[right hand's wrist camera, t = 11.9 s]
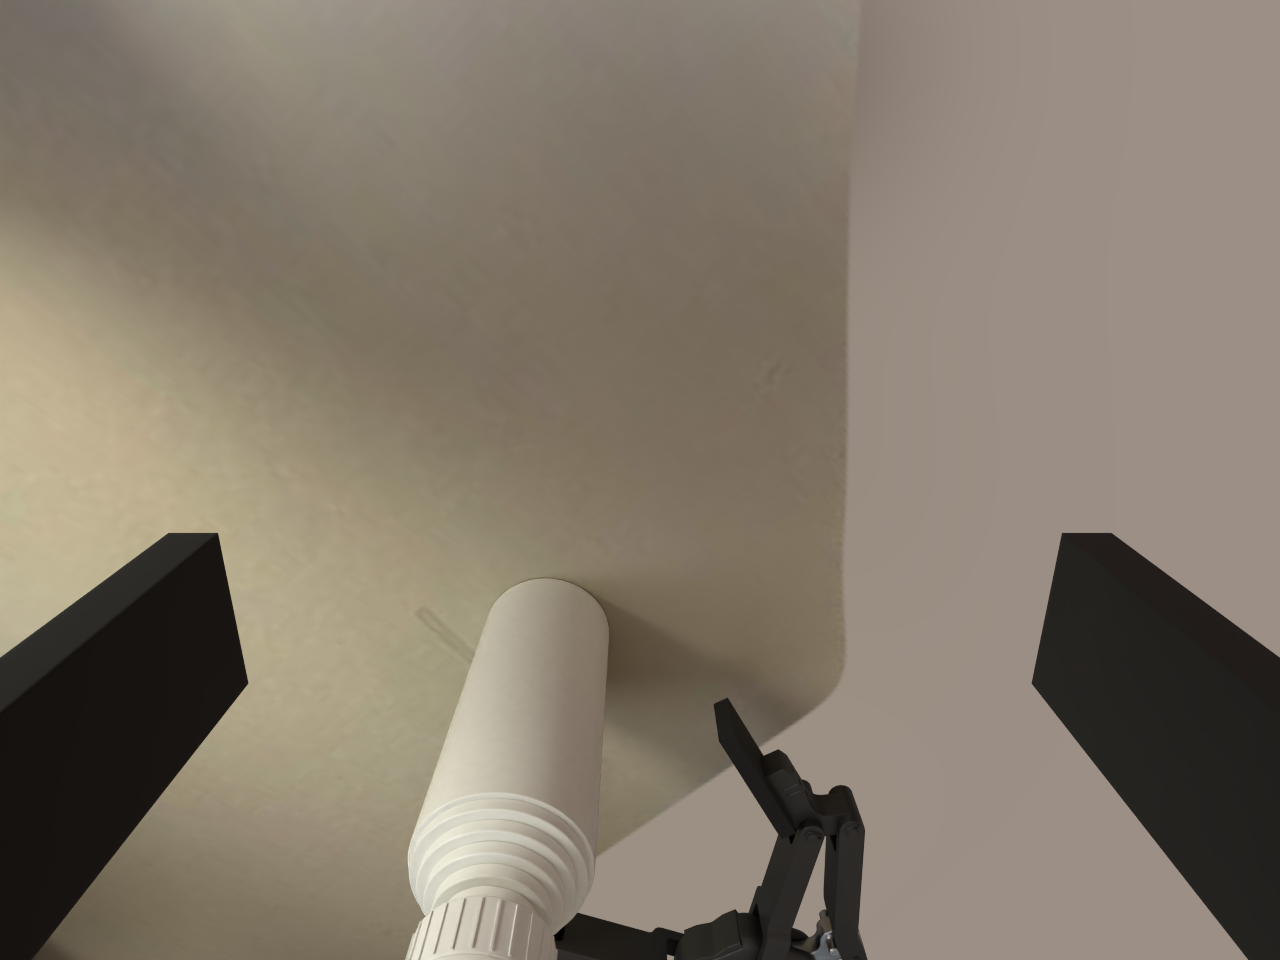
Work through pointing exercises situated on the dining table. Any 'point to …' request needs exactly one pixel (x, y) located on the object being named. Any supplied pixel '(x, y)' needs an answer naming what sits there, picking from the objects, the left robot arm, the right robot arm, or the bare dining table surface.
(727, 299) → the dining table surface
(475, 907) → the cap
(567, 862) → the bottle
